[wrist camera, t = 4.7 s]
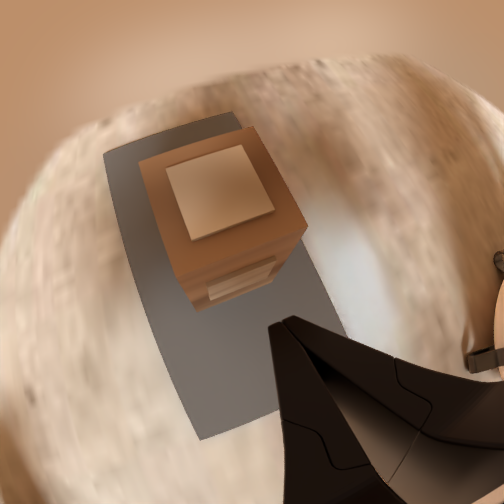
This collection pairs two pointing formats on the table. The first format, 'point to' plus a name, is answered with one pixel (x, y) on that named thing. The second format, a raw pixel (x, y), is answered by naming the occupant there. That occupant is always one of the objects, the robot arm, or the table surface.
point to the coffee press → (500, 352)
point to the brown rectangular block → (222, 215)
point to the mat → (216, 317)
